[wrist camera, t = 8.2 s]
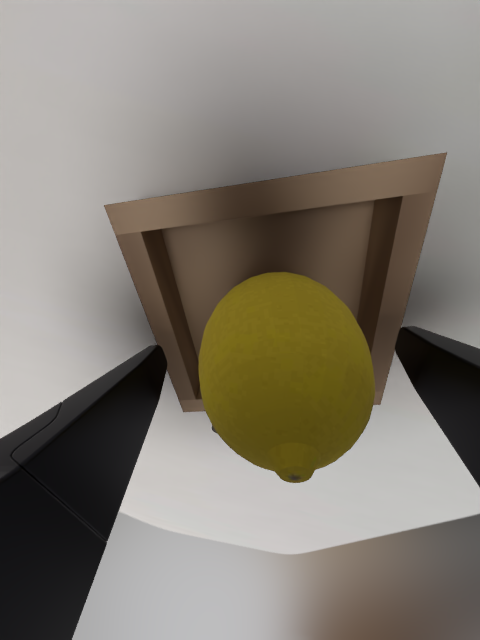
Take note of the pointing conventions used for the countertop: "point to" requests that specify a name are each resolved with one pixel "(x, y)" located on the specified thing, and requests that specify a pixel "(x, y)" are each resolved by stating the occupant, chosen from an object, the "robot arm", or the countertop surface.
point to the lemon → (286, 374)
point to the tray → (280, 251)
